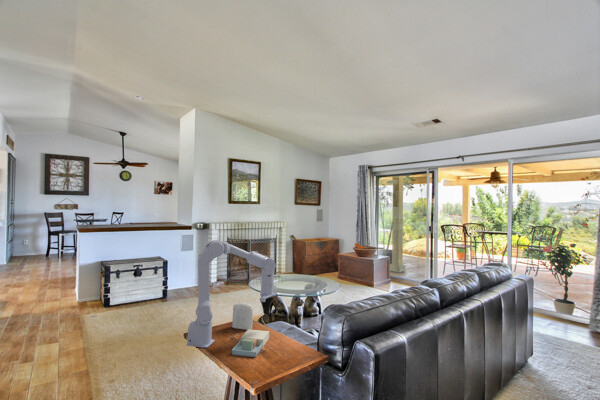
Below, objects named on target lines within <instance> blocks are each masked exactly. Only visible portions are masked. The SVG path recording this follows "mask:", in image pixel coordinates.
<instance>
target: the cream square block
mask: <svg viewBox="0 0 600 400" xmlns="http://www.w3.org/2000/svg"><path fill="white" fill-rule="evenodd" d="M244 338H245V339H248V338H250V339H257V346H260V344H261V343H262V342H263V347H264V346H265V344H266V343H267V342H268V340H269V339H270V331H268V330H259V329H251V330H250V329H248V330H246V331H245V333H243V334H242V336H241V337H240V340H241V344H242V340H243V339H244Z"/></svg>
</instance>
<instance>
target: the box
mask: <svg viewBox="0 0 600 400" xmlns="http://www.w3.org/2000/svg"><path fill="white" fill-rule="evenodd" d="M263 348H264V346H263V342H262V343H261V344H260V346H256V347H255V348H254V349H253V350H252V351H243V350H242V344H241V339H240V340H239V341H238V342H237V343H236V345H234V347H233V348H232V349H231V356H238V357H247V358H257V356H258V355H259V353H260V351H261V350H262V349H263Z"/></svg>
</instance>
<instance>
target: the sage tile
mask: <svg viewBox="0 0 600 400" xmlns="http://www.w3.org/2000/svg"><path fill="white" fill-rule="evenodd" d="M253 341H254V339H245V338H244V339H243V340H242V350H243V351H252V350H253Z"/></svg>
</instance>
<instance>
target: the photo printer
mask: <svg viewBox="0 0 600 400" xmlns="http://www.w3.org/2000/svg"><path fill="white" fill-rule="evenodd" d="M253 319H254V306H253V305H252V304H250V303H249V302H241V301H240V302H236V303H234V304H233V306H232V321H231V325H232V328H233V329H238V330H246V331H247V330H248V329H250V330H253V321H254V320H253Z"/></svg>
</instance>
